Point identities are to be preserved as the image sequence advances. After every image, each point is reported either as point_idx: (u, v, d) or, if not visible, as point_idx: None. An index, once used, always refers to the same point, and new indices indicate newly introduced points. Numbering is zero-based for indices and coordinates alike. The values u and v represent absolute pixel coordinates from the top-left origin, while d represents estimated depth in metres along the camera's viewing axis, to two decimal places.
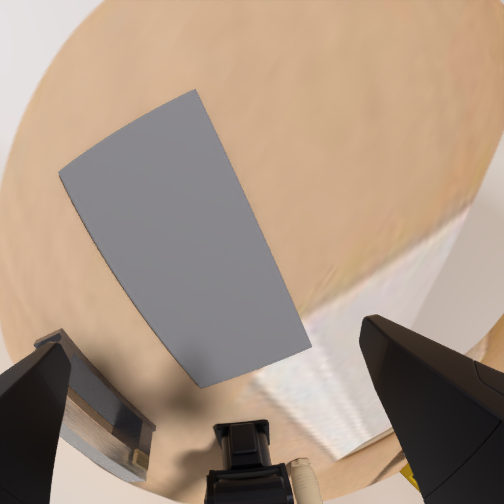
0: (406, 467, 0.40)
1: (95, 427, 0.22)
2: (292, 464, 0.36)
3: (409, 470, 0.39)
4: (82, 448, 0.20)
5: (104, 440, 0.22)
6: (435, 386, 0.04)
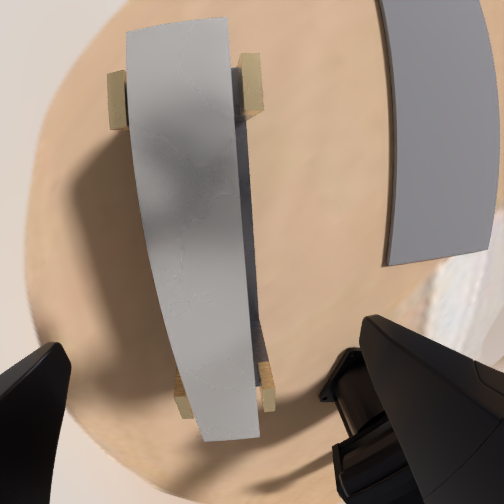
0: None
1: None
2: None
3: None
4: (197, 322, 0.10)
5: None
6: (435, 386, 0.04)
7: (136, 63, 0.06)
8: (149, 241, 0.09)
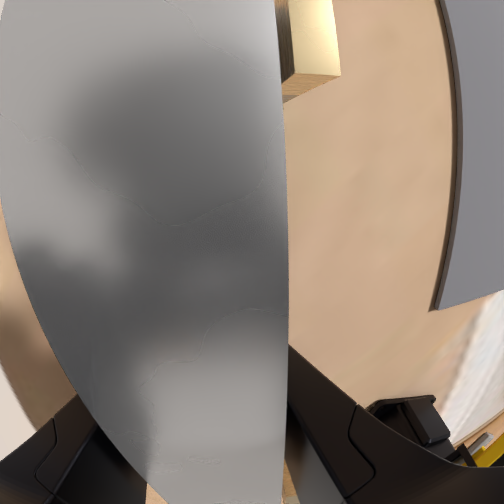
0: None
1: None
2: None
3: None
4: (194, 480, 0.04)
5: None
6: (296, 427, 0.04)
7: None
8: (81, 388, 0.03)
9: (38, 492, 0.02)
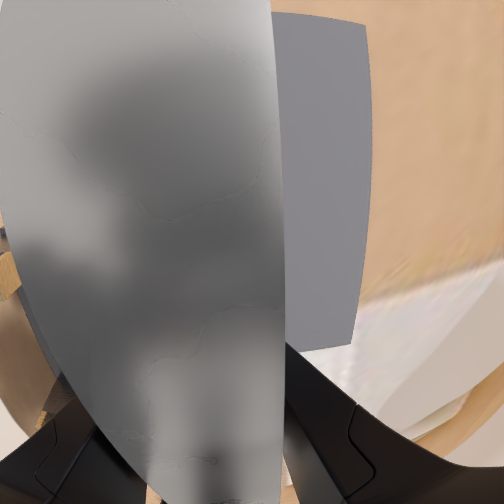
0: None
1: None
2: None
3: None
4: (193, 479, 0.04)
5: None
6: (296, 427, 0.04)
7: None
8: (77, 386, 0.03)
9: (39, 492, 0.02)
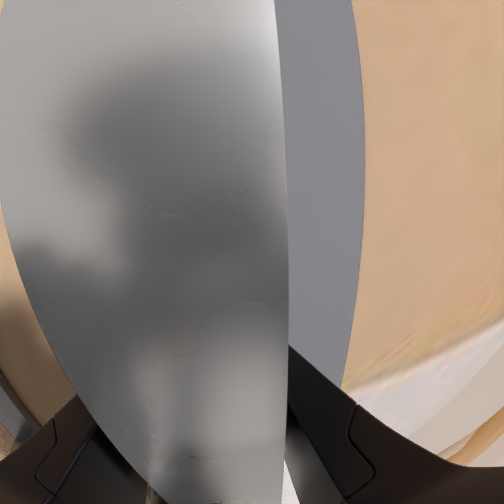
0: None
1: None
2: None
3: None
4: (194, 479, 0.04)
5: None
6: (296, 427, 0.04)
7: None
8: (78, 384, 0.03)
9: (39, 492, 0.02)
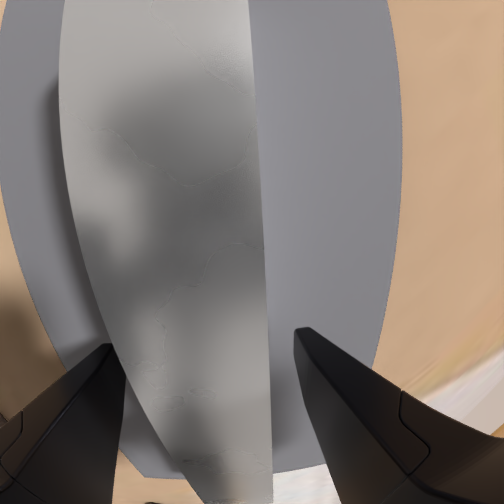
0: None
1: None
2: None
3: None
4: (194, 419, 0.06)
5: None
6: (346, 416, 0.04)
7: (78, 10, 0.03)
8: (108, 318, 0.05)
9: (1, 475, 0.02)
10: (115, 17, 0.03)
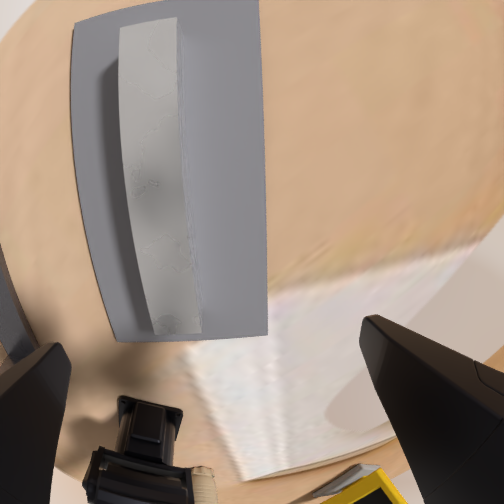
0: None
1: (188, 183, 0.16)
2: (193, 470, 0.30)
3: None
4: (149, 203, 0.14)
5: (189, 212, 0.16)
6: (435, 386, 0.04)
7: (124, 45, 0.11)
8: (123, 145, 0.13)
9: None
10: (137, 49, 0.11)
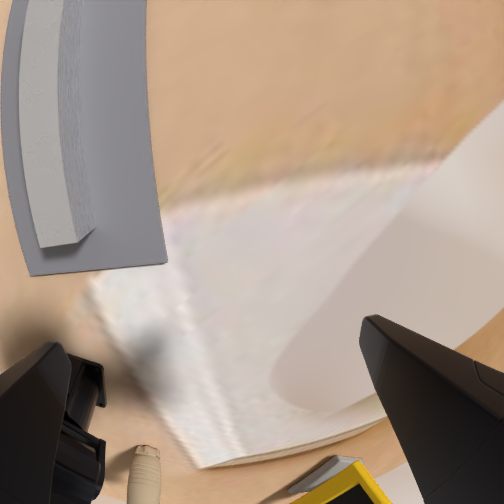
0: None
1: (75, 96, 0.13)
2: (137, 449, 0.27)
3: None
4: (33, 110, 0.11)
5: (71, 119, 0.13)
6: (435, 386, 0.04)
7: None
8: (21, 69, 0.10)
9: None
10: None
